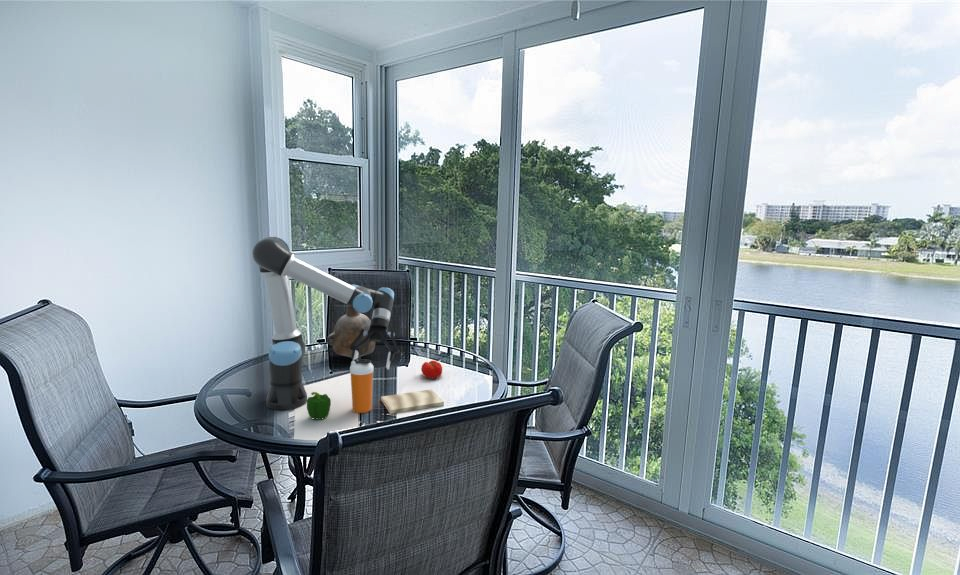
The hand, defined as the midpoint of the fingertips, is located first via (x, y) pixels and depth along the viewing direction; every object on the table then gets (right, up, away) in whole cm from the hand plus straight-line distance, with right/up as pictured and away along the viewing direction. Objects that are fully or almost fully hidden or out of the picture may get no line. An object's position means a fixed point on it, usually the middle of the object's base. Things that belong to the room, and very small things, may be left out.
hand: (370, 367), depth 185 cm
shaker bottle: (-2, -16, -3) cm, 16 cm away
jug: (-21, -5, +55) cm, 60 cm away
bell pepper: (-16, -17, -11) cm, 26 cm away
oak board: (+16, -15, +4) cm, 22 cm away
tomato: (+21, -10, +35) cm, 42 cm away
